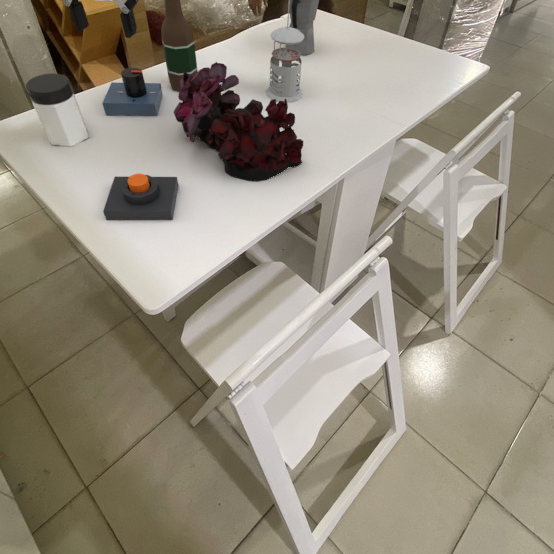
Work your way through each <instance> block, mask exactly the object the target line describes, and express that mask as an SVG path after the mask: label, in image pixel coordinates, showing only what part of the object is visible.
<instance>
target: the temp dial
mask: <svg viewBox="0 0 554 554" xmlns="http://www.w3.org/2000/svg"><path fill="white" fill-rule="evenodd" d="M120 76H121V80H122V83H124V87H125V91H126V94H127V96H129V97H133V98H137V97H142V96H144V95H145V94H146V93H147V91H146V86H145V83H146V82H145V77H144V73H143V70H142V69H141V68H138V67H127V68H124V69H122V70H121V72H120Z"/></svg>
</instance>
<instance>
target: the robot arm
mask: <svg viewBox="0 0 554 554" xmlns="http://www.w3.org/2000/svg"><path fill="white" fill-rule="evenodd" d="M96 1H98V2H99V1H100V2H106V3H107V2H108V3H109V2H112V1H113V3H114V4H115V5H116V6H117V7H118V8H119V9H120V10H121V13H120V14H119V17H120V20H121V25H122V29H123V33H124V37H126V38H127V39H131V38H133V36H134V35H135V34H136V33H137V29H138V28H137V22H136V18H135V12H134V9H135V8H136V5H137V4H138V2H139V1H140V0H96ZM62 2H63V5H65V6H66V7H68V9H69V12H70V15H71V18H72V22H73V23H74V25H75V29H76V31H77V32H81V33H82V32H83V31H84V30H85V29H87V28H89V26H90V23H89V21H88V17H87V13H86V10H85V7H84V4H83V2H82V1H80V0H62Z"/></svg>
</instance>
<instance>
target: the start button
mask: <svg viewBox="0 0 554 554" xmlns="http://www.w3.org/2000/svg"><path fill="white" fill-rule="evenodd" d="M146 175H147V174H144V173H135V174H132V175H129V176H128V177H129V178H128V185H129V188H130V190H131V191H132V192H133V193H142V192H145V191H147V190H148V189H149V188H150V184H149V181H148V177H147V176H146Z"/></svg>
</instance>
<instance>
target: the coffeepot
mask: <svg viewBox="0 0 554 554" xmlns="http://www.w3.org/2000/svg"><path fill="white" fill-rule="evenodd" d="M319 4H320V0H290V4H289V18H290V19H289V20H290V23H289V25H288V27H291V28H295V29H297V30H299V31H300V32H301V33H302V34H304V39H303V41H302V42H300V43H298V44H293V45H287V48H291V49H295V50H297V51H299V52H300V54H301V56H303V57H304V56H309V55H312V54H313V53H314V52H315V33H314V21H315V20H316V16H317V11H318V7H319ZM301 56H300V57H301Z"/></svg>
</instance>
